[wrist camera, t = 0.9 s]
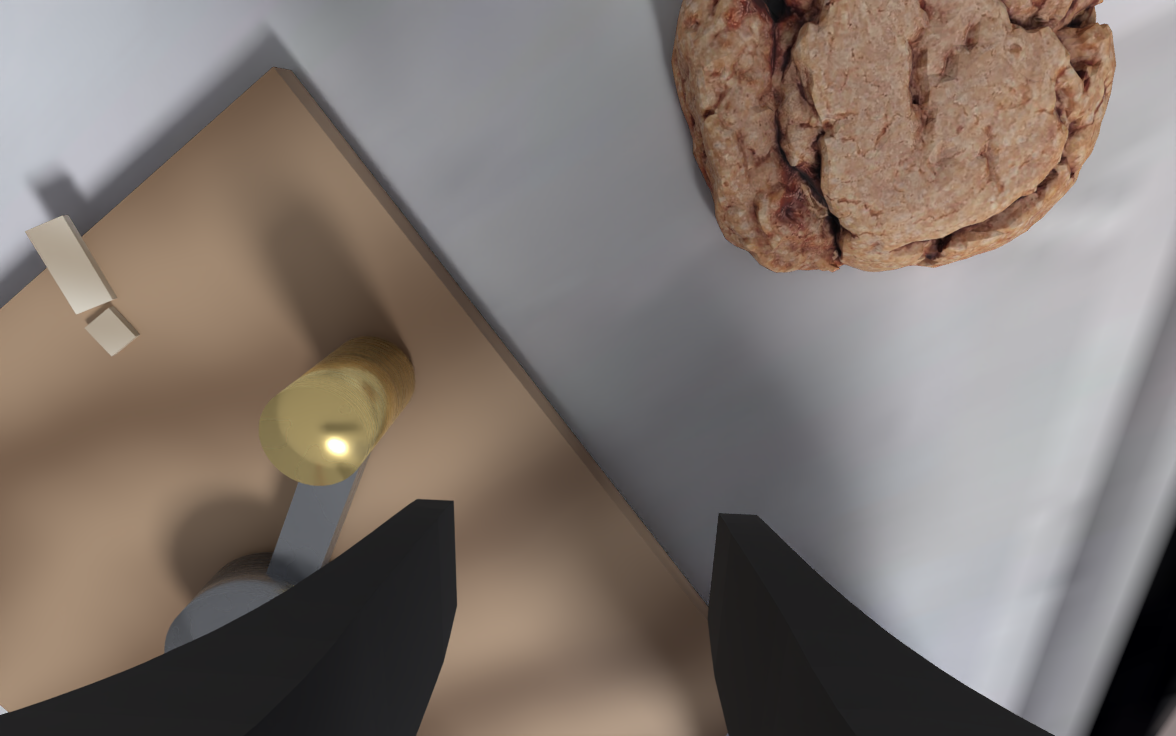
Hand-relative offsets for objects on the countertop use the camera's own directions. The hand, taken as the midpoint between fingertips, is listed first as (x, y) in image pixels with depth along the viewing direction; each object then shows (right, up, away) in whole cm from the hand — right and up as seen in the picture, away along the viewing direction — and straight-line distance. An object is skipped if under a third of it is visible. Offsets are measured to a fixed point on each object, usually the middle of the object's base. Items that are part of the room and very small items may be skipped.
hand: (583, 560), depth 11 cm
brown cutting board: (-10, -4, +12) cm, 16 cm away
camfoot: (-8, -2, +9) cm, 12 cm away
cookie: (+7, +10, +7) cm, 14 cm away
